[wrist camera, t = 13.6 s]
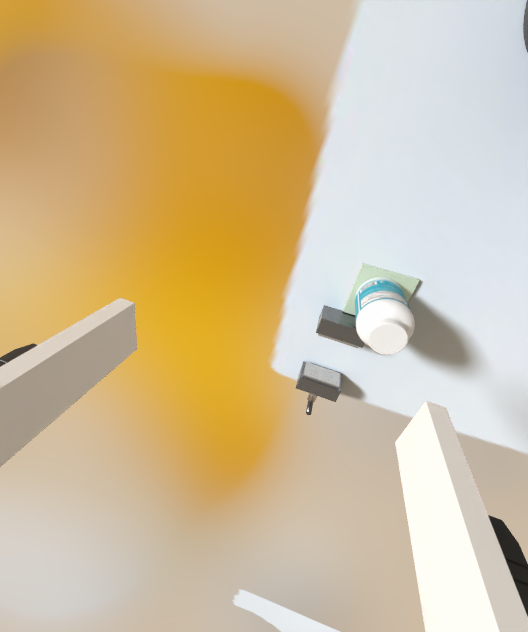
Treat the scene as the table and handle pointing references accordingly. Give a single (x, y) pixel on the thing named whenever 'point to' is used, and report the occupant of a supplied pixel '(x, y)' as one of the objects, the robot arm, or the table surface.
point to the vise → (322, 379)
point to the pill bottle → (383, 316)
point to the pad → (371, 272)
